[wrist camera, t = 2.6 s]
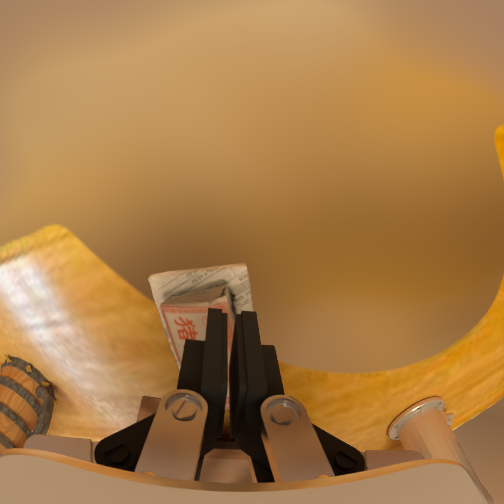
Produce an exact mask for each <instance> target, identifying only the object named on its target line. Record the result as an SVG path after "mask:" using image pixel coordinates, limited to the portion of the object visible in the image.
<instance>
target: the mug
mask: <svg viewBox="0 0 504 504" xmlns="http://www.w3.org/2000/svg"><path fill="white" fill-rule="evenodd" d="M5 357H6V361H5V363H4V364H3V365H0V369H1V370H0V451H1V450H5V449H12V448H24V445H25V442H26V440H27V439H28V438H29V437H31V436H33V435H38V434H42V435H46V433H47V431H48V428H49V424H50V421H51V417H52V411H53V405H54V403H57V401H56V400H55V399H54V392H53V388H52V387H51V385H50V383H49V382H48V380H47V379H46V378H45V377H44V376H43V375H42V374H41V373H40V372H39V371H38V370H37V369H36V368H34V367H33V366H32V365H31V364H29V363H28V362H26V361H24V360H22V359H20V358H17V357H8V356H6V355H5ZM36 423H37V424H36ZM35 424H36V426H35ZM34 426H35V428H34ZM33 428H34V430H33ZM32 430H33V432H32ZM31 432H32V433H31Z"/></svg>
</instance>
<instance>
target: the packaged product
mask: <svg viewBox="0 0 504 504" xmlns="http://www.w3.org/2000/svg"><path fill="white" fill-rule="evenodd" d="M148 280H149V282H150V286H151V289H152V293H153V297H154V300H155V303H156V306H157V308H158V311H159V315H160V318H161V321H162V324H163V327H164V330H165V333H166V336H167V339H168V341H169V345H170V347H171V350H172V353H173V354H174V356H175V357H176V363H177V365H178V368H179V371H180V367H181V361H182V356H183V350H184V344H185V339H193V340H203V341H205V336H206V325H207V315H208V308H218V309H222V313H227V314H228V390H227V399H226V406H225V410H229V361H230V354H231V346H232V339H233V331H234V323H235V316H236V314H241V311H254V309H253V302H252V293H251V286H250V280H249V274H248V270H247V267H246V264H245V263H236V264H228V265H221V266H213V267H204V268H195V269H186V270H177V271H168V272H162V273H156V274H151V276H150V277H149V278H148Z"/></svg>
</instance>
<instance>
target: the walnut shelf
mask: <svg viewBox="0 0 504 504" xmlns="http://www.w3.org/2000/svg"><path fill="white" fill-rule="evenodd" d="M161 400H162V399H160V398H153V397H147V396H143V398H142V402H141V406H140V410H139V414H138V419H137V422H139V421H141V420H142V419H144V418H146V417H148V416H150V415H152V414H154V413H156V412H157V410H158V407H159V404H160V402H161ZM200 481H203V482H219V483H253V479H252V476H251V472H250V468H249V464H248V460H247V454H246V453H244V452H243V451H242V450H241V449H239V446H236V442H224V441H216V448H214V449H213V450H212V451H210V452H209V453H207V454H206V455H205V461H204V465H203V470H202V475H201V480H200Z"/></svg>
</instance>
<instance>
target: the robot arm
mask: <svg viewBox="0 0 504 504" xmlns="http://www.w3.org/2000/svg"><path fill="white" fill-rule="evenodd" d="M227 390H228V314H227V313H222V309H218V308H208V315H207V325H206V336H205V341H203V340H193V339H185V344H184V350H183V356H182V361H181V367H180V374H179V380H178V386H177V390H174V391H171V392H169V393H168V394H166V395H165V396H164V397H163V398H162V400H161V402H160V404H159V407H158V410H157V412H156V413H154V414H152V415H150V416H148V417H146V418H144V419H142V420H141V421H139V422H137V423H135V424H133V425H131V426H129V427H127V428H125V429H123V430H121V431H119V432H117V433H114V434H112V435H110V436H108V437H106V438H104V439H103V440H101V441H100V442H92V441H91V439H83V438H70V437H59V436H50V435H42V434H38V435H33V436H31V437H29V438H28V439H27V440H26V442H25V445H24V448H12V449H5V450H1V451H0V504H497V503H496V501H495V500H494V498H493V497H492V496H491V495H490V493H489V492H488V491H487V490H486V488H485V487H484V485H483V484H482V483H481V481H480V479H479V478H478V476H477V474H476V473H475V471H474V469H473V467H472V465H471V463H470V462H469V460H468V458H467V456H466V454H465V453H464V451H463V449H462V447H461V446H460V444H459V442H458V440H457V438H456V437H455V435H454V433H453V432H452V430H451V428H450V426H451V425H452V419H453V417H454V414H453V413H449V414H447V415H446V414H445V412H444V411H443V409H444V406H445V403H444V401H443V399H442V398H440V397H431V398H427V399H425V400H422V401H420V402H418V403H416V404H414V405H413V406H411V407H410V408H408V409H407V410H405V411H404V412H403V413H401V414H400V415H399V416H398V417H397V418H396V419H395V420H394V421H393V422H392V424H391V425H390V427H389V429H388V435H389V437H390V438H391V439H393V440H400V442H401V444H402V446H403V448H404V450H366V451H365V452H360V451H358V450H357V449H356V448H354V447H352V446H350V445H349V444H347V443H345V442H343V441H341V440H340V439H338V438H336V437H334V436H333V435H331V434H329V433H327V432H326V431H324V430H322V429H321V428H319V427H317V426H315V425H314V424H312V423H311V421H310V418H309V416H308V414H307V411H306V409H305V407H304V406H303V404H302V403H301V402H299V401H298V400H297V399H295V398H293V397H291V396H287V395H285V394H284V390H283V385H282V380H281V375H280V370H279V365H278V360H277V355H276V350H275V347H274V346H273V345H261V342H260V335H259V328H258V321H257V314H256V312H254V311H241V314H236V316H235V323H234V331H233V339H232V346H231V354H230V361H229V410H230V438H234V439H236V446H239V449H241V450H242V451H243V452H244V453H246V454H247V460H248V464H249V468H250V472H251V476H252V479H253V483H219V482H203V481H200V480H201V475H202V470H203V465H204V461H205V455H206V454H207V453H209V452H210V451H212V450H213V449H214V448H216V440H217V438H221V436H222V428H223V421H224V413H225V406H226V399H227Z"/></svg>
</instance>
